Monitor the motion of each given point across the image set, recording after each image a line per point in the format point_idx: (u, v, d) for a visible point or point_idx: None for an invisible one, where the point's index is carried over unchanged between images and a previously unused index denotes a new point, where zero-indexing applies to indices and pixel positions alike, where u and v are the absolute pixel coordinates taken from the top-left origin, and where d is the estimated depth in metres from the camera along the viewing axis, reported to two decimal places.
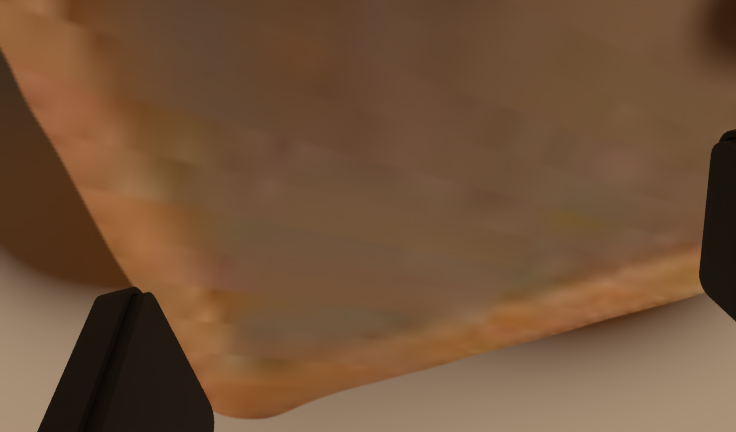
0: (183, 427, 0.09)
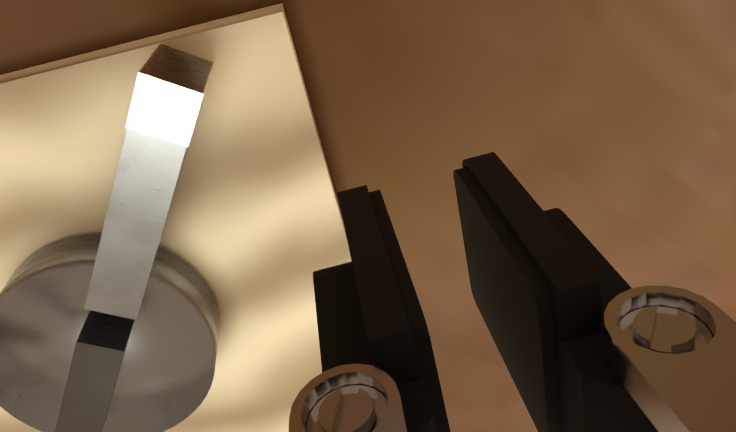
0: None
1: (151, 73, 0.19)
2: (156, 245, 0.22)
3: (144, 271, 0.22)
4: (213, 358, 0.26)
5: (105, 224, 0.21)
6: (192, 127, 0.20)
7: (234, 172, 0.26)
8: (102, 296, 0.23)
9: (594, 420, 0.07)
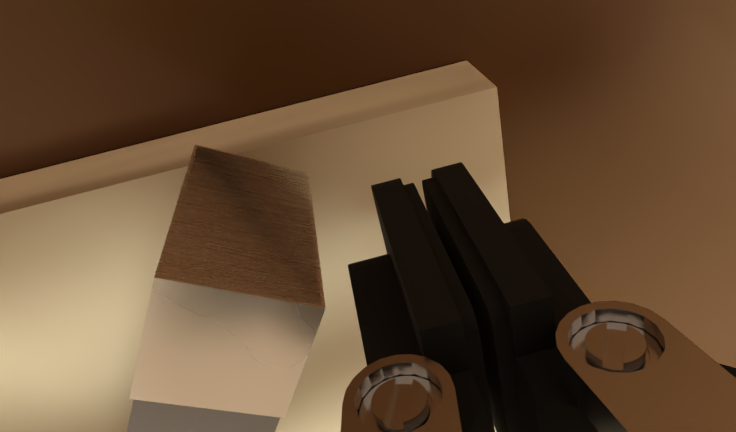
0: None
1: (189, 269, 0.07)
2: None
3: None
4: None
5: None
6: (295, 379, 0.08)
7: (361, 364, 0.14)
8: None
9: None
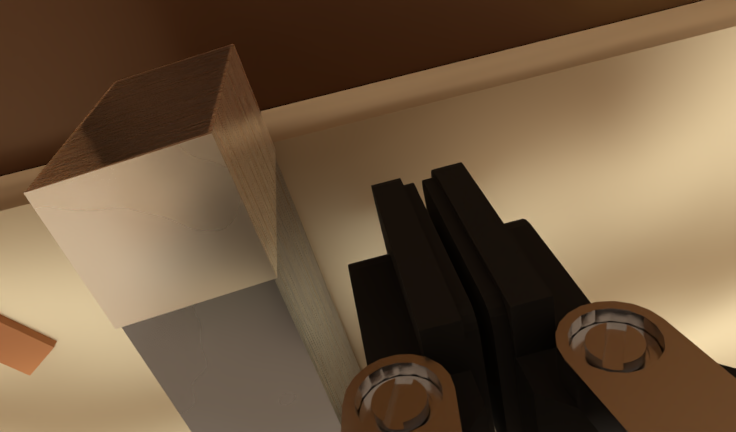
0: None
1: (64, 171, 0.06)
2: None
3: None
4: None
5: None
6: (252, 230, 0.07)
7: (649, 286, 0.14)
8: None
9: None
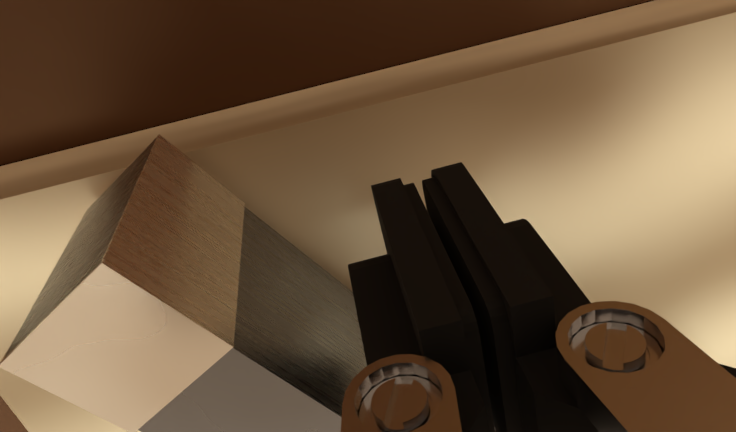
0: None
1: (23, 334, 0.07)
2: None
3: None
4: None
5: None
6: (187, 319, 0.07)
7: None
8: None
9: None
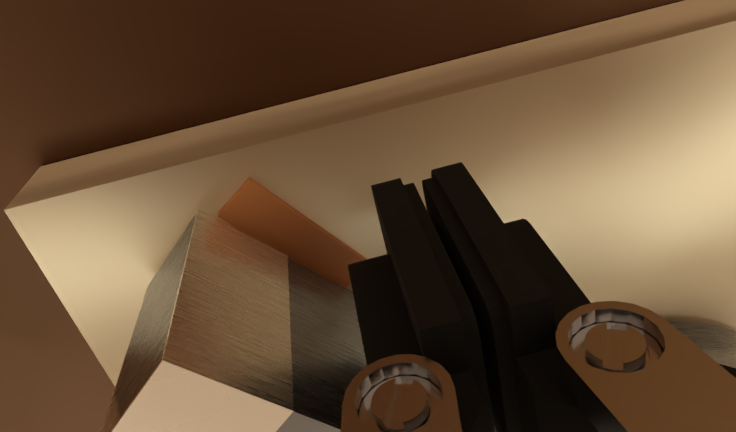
0: None
1: (108, 426, 0.08)
2: None
3: None
4: None
5: None
6: (247, 394, 0.08)
7: None
8: None
9: None
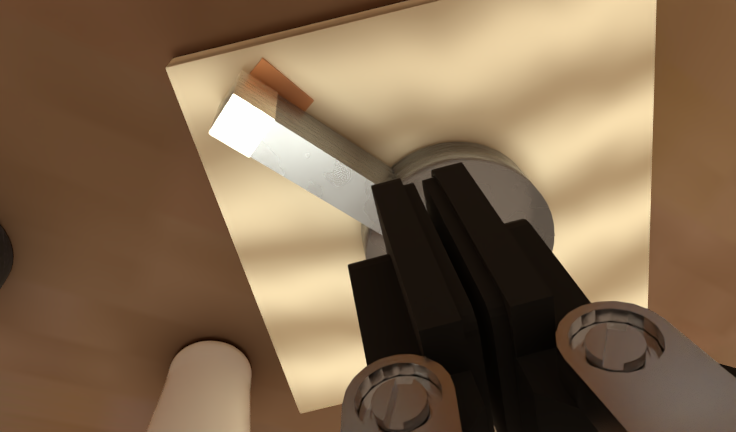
0: None
1: (213, 124, 0.25)
2: (355, 172, 0.26)
3: None
4: (496, 167, 0.28)
5: (325, 200, 0.27)
6: (259, 111, 0.24)
7: (579, 89, 0.30)
8: None
9: None
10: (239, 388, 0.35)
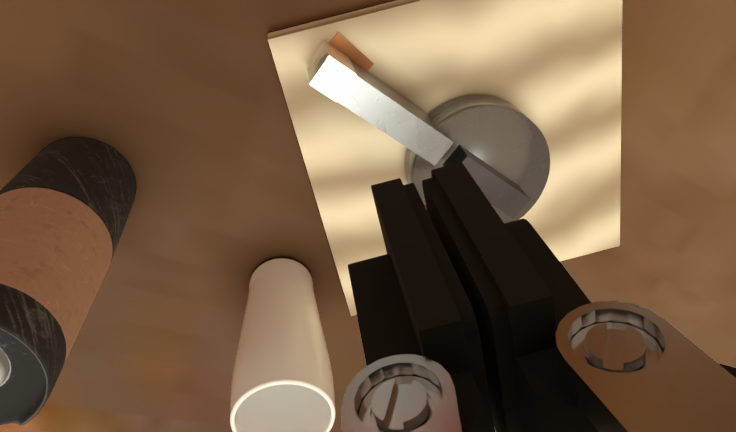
0: None
1: (312, 78, 0.35)
2: (410, 113, 0.37)
3: (423, 126, 0.37)
4: (508, 110, 0.39)
5: (387, 134, 0.37)
6: (346, 68, 0.35)
7: (567, 54, 0.41)
8: (430, 153, 0.38)
9: None
10: (309, 290, 0.46)
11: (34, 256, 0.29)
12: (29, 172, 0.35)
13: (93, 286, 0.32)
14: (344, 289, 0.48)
